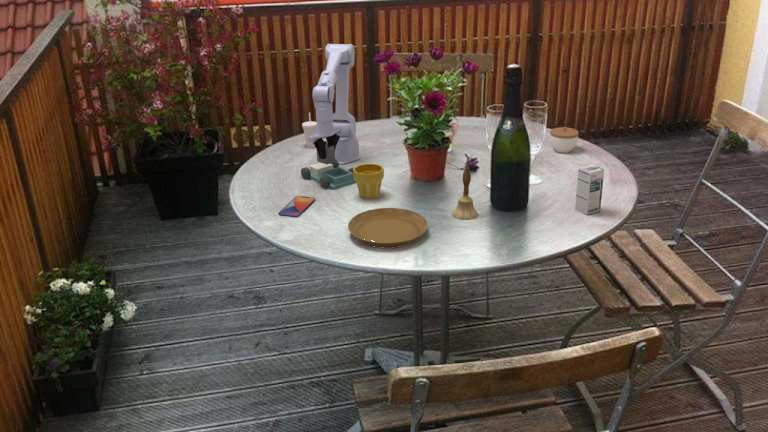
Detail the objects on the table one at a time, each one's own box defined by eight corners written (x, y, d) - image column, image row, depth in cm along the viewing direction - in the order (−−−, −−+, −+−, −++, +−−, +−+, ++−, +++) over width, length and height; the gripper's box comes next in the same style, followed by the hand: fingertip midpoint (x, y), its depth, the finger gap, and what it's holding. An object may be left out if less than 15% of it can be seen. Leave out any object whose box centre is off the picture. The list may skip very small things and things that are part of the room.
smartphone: (277, 216, 234) (277, 213, 233) (296, 198, 247) (296, 195, 246) (298, 219, 232) (298, 216, 231) (316, 200, 244) (316, 197, 244)
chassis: (329, 166, 273) (329, 156, 271) (362, 180, 259) (361, 170, 257) (298, 175, 265) (297, 165, 263) (329, 191, 251) (329, 180, 249)
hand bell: (473, 208, 235) (475, 161, 228) (481, 218, 228) (483, 171, 221) (449, 210, 234) (449, 164, 227) (455, 220, 226) (456, 173, 220)
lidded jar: (579, 154, 278) (582, 131, 274) (551, 155, 278) (553, 132, 274) (573, 145, 288) (575, 123, 284) (546, 146, 288) (548, 123, 284)
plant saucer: (422, 254, 207) (422, 244, 206) (340, 249, 211) (339, 239, 210) (431, 219, 229) (431, 209, 227) (357, 215, 233) (357, 206, 231)
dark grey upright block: (325, 158, 260) (324, 142, 258) (335, 161, 257) (334, 145, 255) (317, 161, 258) (316, 145, 255) (327, 164, 255) (325, 148, 252)
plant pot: (347, 195, 247) (346, 169, 243) (368, 187, 253) (368, 160, 249) (369, 203, 240) (368, 176, 236) (390, 194, 247) (390, 167, 243)
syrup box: (586, 215, 228) (591, 172, 222) (574, 208, 232) (578, 166, 226) (600, 211, 230) (605, 169, 224) (587, 205, 235) (592, 163, 229)
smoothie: (320, 143, 297) (318, 110, 291) (317, 149, 291) (315, 115, 285) (305, 143, 298) (302, 110, 292) (302, 148, 292) (299, 115, 286)
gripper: (331, 113, 258) (333, 149, 264) (301, 122, 248) (304, 159, 254) (345, 116, 254) (347, 153, 259) (315, 126, 244) (317, 164, 250)
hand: (326, 156), depth 257 cm, fingers closed on dark grey upright block, 4 cm apart
